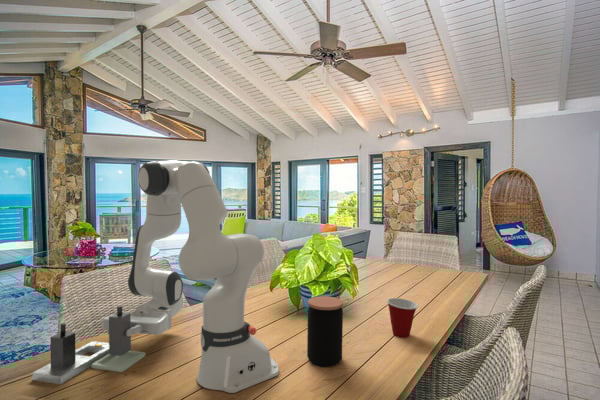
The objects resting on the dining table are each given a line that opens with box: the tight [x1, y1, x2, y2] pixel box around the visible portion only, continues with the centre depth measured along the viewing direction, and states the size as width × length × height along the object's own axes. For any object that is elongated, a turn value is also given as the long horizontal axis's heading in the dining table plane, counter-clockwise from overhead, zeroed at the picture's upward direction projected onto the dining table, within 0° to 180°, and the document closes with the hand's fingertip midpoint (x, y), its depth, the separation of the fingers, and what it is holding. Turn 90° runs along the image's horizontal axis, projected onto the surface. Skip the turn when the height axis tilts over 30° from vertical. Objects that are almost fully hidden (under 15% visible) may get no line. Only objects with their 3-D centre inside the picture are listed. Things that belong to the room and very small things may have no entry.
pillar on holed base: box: [32, 322, 109, 385], centre depth 101 cm, size 20×9×14 cm, turn 168°
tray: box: [91, 350, 146, 373], centre depth 103 cm, size 10×10×2 cm
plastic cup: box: [386, 297, 419, 339], centre depth 126 cm, size 11×11×12 cm
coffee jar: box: [306, 295, 344, 368], centre depth 107 cm, size 11×11×18 cm
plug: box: [108, 305, 132, 356], centre depth 103 cm, size 4×4×13 cm
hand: (117, 332), depth 102 cm, fingers closed on plug, 4 cm apart
